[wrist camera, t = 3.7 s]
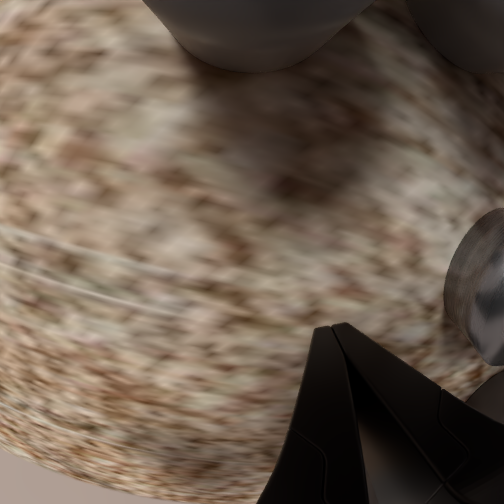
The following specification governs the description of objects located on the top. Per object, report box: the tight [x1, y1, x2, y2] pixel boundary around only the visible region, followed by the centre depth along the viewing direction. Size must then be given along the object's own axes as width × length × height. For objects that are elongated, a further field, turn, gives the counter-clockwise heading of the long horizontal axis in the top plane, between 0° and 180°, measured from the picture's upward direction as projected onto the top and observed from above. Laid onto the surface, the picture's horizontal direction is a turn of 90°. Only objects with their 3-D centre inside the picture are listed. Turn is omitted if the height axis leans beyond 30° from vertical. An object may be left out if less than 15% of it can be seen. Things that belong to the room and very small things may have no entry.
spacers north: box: [364, 371, 504, 504], centre depth 10 cm, size 11×4×4 cm, turn 100°
